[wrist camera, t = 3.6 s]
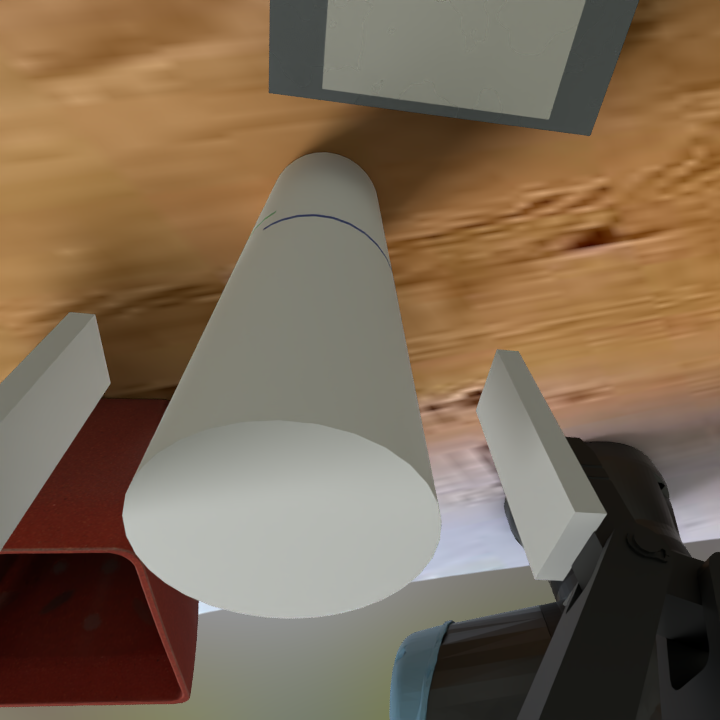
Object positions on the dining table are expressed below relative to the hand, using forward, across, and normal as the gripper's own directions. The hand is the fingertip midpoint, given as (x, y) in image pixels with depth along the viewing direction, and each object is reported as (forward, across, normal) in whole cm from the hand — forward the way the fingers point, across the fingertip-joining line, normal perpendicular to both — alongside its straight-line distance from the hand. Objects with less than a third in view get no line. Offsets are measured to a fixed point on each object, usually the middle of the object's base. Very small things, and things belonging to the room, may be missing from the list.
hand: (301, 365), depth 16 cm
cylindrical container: (+19, 0, 0) cm, 19 cm away
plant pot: (+19, +17, +24) cm, 35 cm away
